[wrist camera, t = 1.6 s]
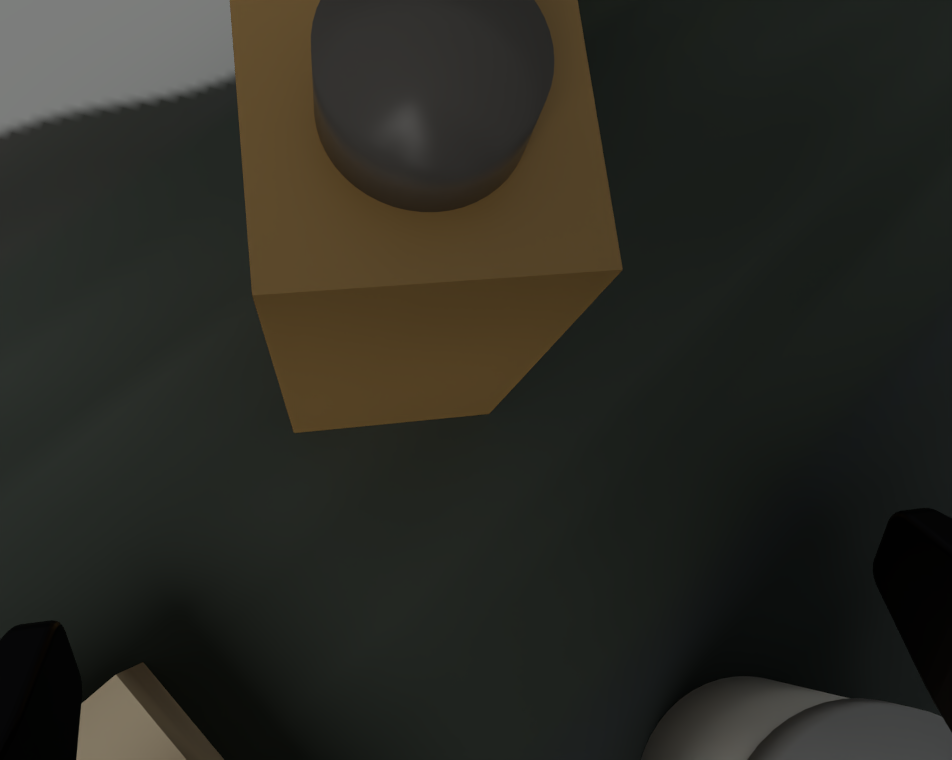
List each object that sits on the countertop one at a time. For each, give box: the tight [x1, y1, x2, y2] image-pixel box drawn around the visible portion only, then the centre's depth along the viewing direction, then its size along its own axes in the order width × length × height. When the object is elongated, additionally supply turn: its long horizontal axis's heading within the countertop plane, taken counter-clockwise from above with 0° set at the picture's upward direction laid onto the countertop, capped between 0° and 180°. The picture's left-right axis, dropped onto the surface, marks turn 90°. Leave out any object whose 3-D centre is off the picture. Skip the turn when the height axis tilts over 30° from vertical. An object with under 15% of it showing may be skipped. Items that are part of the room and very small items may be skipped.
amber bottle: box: [230, 0, 623, 433], centre depth 17 cm, size 5×5×12 cm
